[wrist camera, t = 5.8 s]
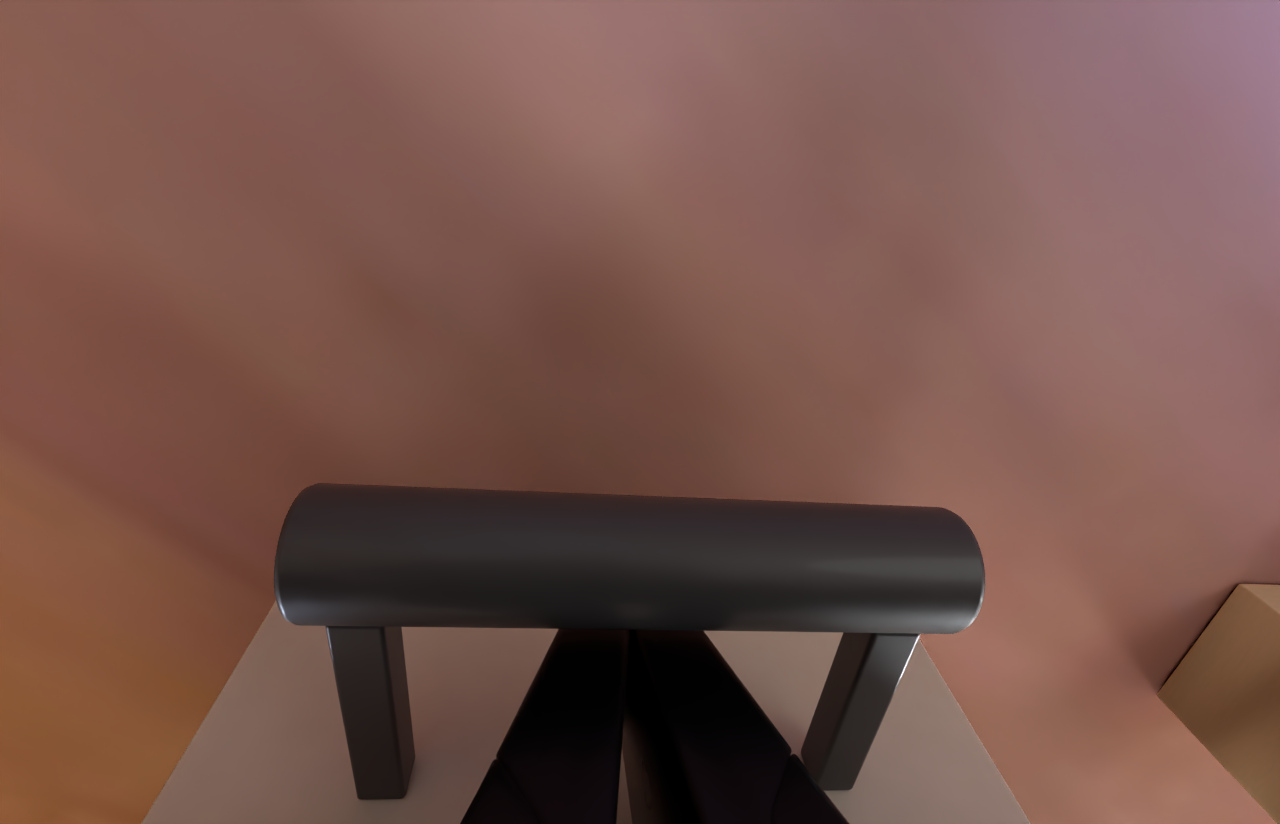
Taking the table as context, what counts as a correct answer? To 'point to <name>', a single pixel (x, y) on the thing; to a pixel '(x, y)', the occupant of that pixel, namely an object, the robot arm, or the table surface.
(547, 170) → the table surface
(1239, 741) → the block
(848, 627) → the drawer
